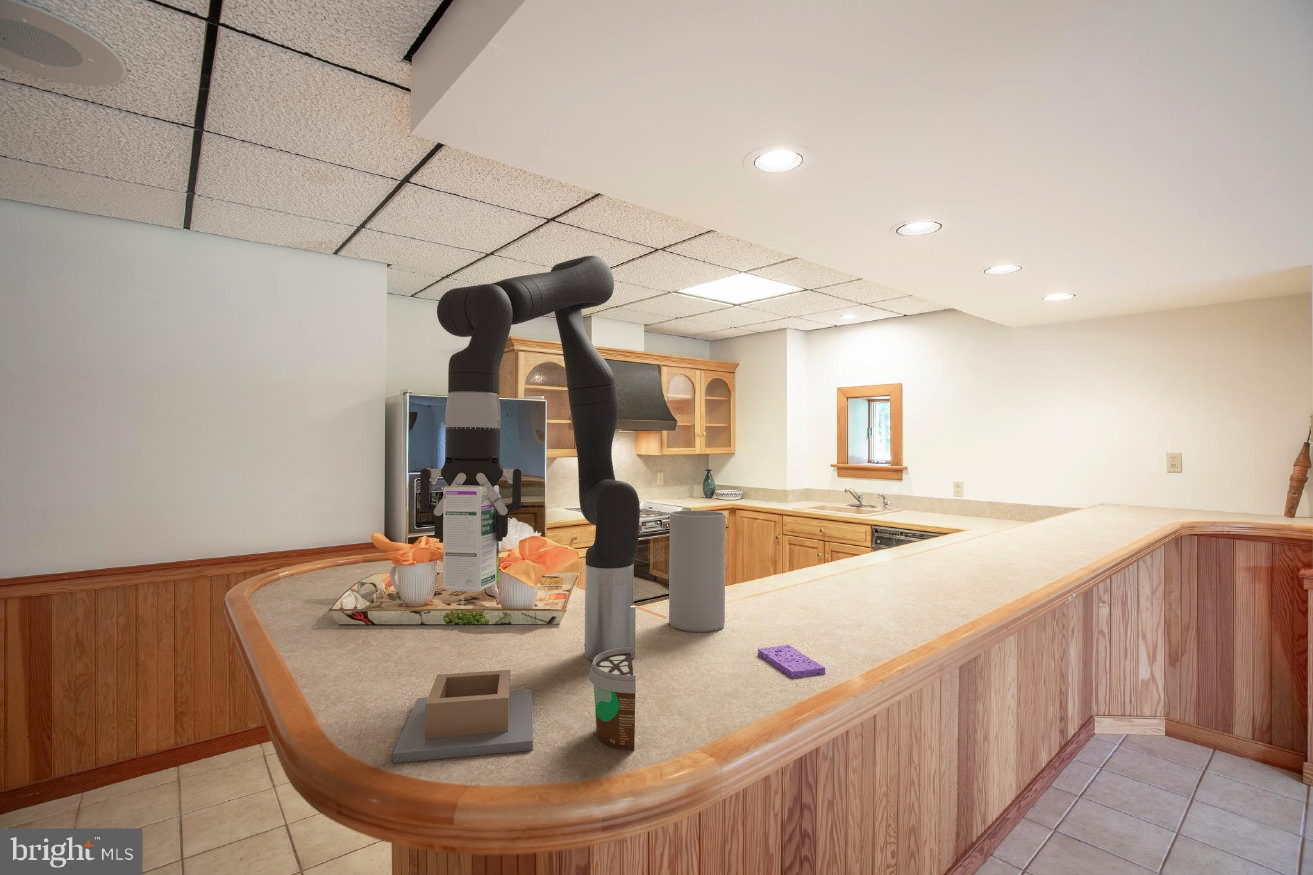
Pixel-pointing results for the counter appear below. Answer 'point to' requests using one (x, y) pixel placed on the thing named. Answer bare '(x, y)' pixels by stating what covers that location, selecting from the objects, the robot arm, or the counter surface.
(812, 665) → the sponges
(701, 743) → the counter surface
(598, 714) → the food container
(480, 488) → the syrup box
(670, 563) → the cylinder vase
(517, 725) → the socket holder
